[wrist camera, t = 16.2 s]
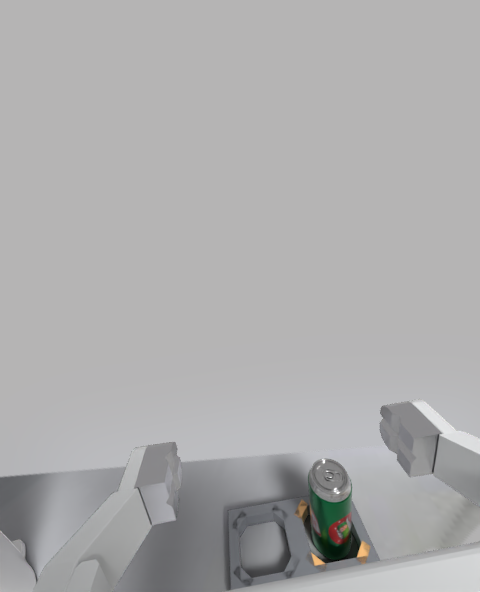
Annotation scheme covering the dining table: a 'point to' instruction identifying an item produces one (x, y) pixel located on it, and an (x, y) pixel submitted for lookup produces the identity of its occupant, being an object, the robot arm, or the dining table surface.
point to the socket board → (290, 541)
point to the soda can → (330, 508)
